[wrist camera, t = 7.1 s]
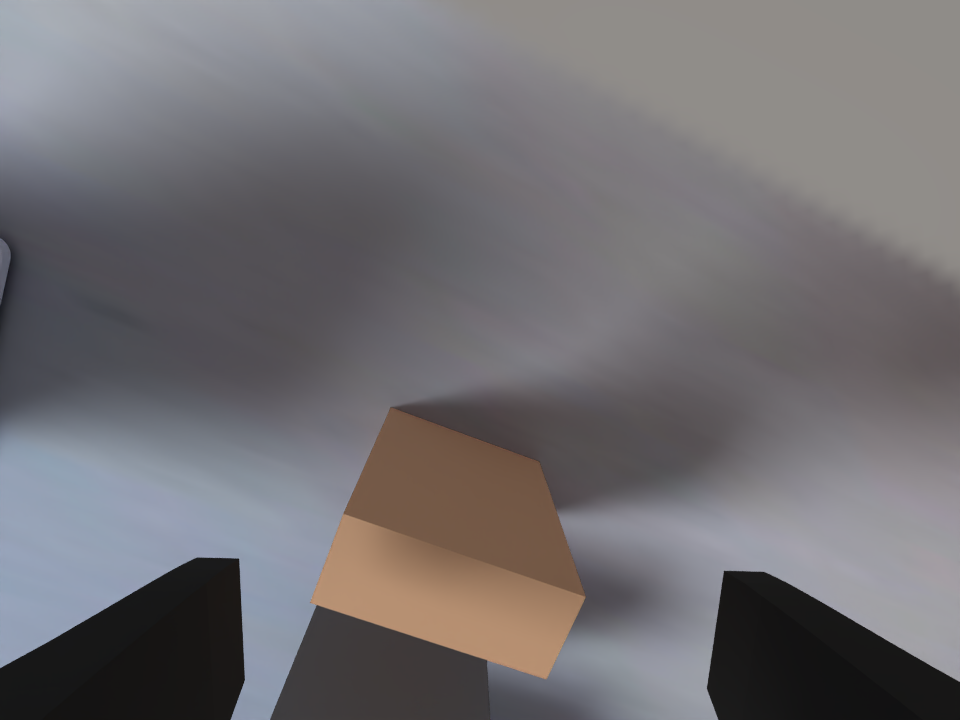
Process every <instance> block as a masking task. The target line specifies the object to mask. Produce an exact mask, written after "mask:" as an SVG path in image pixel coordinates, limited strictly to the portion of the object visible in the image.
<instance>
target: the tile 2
mask: <svg viewBox="0 0 960 720" xmlns="http://www.w3.org/2000/svg"><path fill="white" fill-rule="evenodd" d="M270 720H490V709H489V691H488V672H487V660H485V659H482V658H479V657H476V656H473V655H469V654H466V653H463V652H460V651H457V650H454V649H451V648H448V647H445V646H442V645H439V644H436V643H432V642H429V641H426V640H423V639H420V638H417V637H414V636H411V635H408V634H405V633H402V632H399V631H395V630H392V629H389V628H386V627H383V626H380V625H377V624H374V623H371V622H368V621H365V620H362V619H358V618H355V617H352V616H349V615H346V614H343V613H340V612H337V611H334V610H331V609H328V608H325V607H321V606H318V605H317V606H316V608H315V611H314V613H313V616H312V618H311V621H310V623H309V626H308V628H307V630H306V633H305V635H304V638H303V640H302V643H301V645H300V648H299V650H298V652H297V655H296V657H295V660H294V662H293V665H292V667H291V670H290V672H289V675H288V677H287V679H286V682H285V684H284V687H283V689H282V692H281V694H280V697H279V699H278V701H277V704H276V706H275V709H274V711H273V714H272V716H271V719H270Z"/></svg>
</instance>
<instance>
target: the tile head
mask: <svg viewBox="0 0 960 720" xmlns="http://www.w3.org/2000/svg"><path fill="white" fill-rule="evenodd" d="M585 598H586V596H585V593H584V590H583V587H582V584H581V581H580V578H579V575H578V573H577V570H576V567H575V564H574V561H573V558H572V555H571V552H570V549H569V546H568V544H567V541H566V538H565V535H564V532H563V529H562V526H561V523H560V520H559V517H558V515H557V512H556V509H555V506H554V503H553V500H552V497H551V494H550V491H549V488H548V485H547V483H546V480H545V477H544V474H543V471H542V468H541V465H540V462H539V461H536V460H533V459H531V458H528V457H525V456H522V455H520V454H517V453H514V452H511V451H509V450H506V449H503V448H501V447H498V446H495V445H492V444H490V443H487V442H484V441H481V440H479V439H476V438H473V437H470V436H468V435H465V434H462V433H460V432H457V431H454V430H451V429H449V428H446V427H443V426H440V425H438V424H435V423H432V422H430V421H427V420H424V419H421V418H419V417H416V416H413V415H410V414H408V413H405V412H402V411H399V410H397V409H394V408H390V410H389V413H388V415H387V417H386V419H385V422H384V424H383V426H382V428H381V431H380V433H379V435H378V437H377V440H376V442H375V444H374V446H373V449H372V451H371V453H370V455H369V458H368V460H367V462H366V464H365V467H364V469H363V471H362V473H361V476H360V478H359V480H358V482H357V484H356V487H355V489H354V491H353V493H352V496H351V498H350V500H349V502H348V505H347V507H346V509H345V511H344V514H343V516H342V519H341V522H340V524H339V527H338V530H337V532H336V535H335V538H334V540H333V543H332V546H331V548H330V551H329V554H328V556H327V559H326V562H325V564H324V567H323V570H322V572H321V575H320V578H319V580H318V583H317V586H316V588H315V591H314V594H313V596H312V599H311V602H310V603H312V604H315V605H318V606H321V607H325V608H328V609H331V610H334V611H337V612H340V613H343V614H346V615H349V616H352V617H355V618H358V619H362V620H365V621H368V622H371V623H374V624H377V625H380V626H383V627H386V628H389V629H392V630H395V631H399V632H402V633H405V634H408V635H411V636H414V637H417V638H420V639H423V640H426V641H429V642H432V643H436V644H439V645H442V646H445V647H448V648H451V649H454V650H457V651H460V652H463V653H466V654H469V655H473V656H476V657H479V658H482V659H485V660H488V661H491V662H494V663H497V664H500V665H503V666H506V667H509V668H513V669H516V670H519V671H522V672H525V673H528V674H531V675H534V676H537V677H540V678H543V679H547V677H548V675H549V673H550V671H551V669H552V667H553V665H554V663H555V661H556V658H557V656H558V654H559V652H560V650H561V648H562V646H563V644H564V642H565V640H566V638H567V635H568V633H569V631H570V629H571V627H572V625H573V623H574V621H575V619H576V617H577V615H578V613H579V610H580V608H581V606H582V604H583V602H584V600H585Z"/></svg>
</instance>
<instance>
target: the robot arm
mask: <svg viewBox="0 0 960 720" xmlns="http://www.w3.org/2000/svg"><path fill="white" fill-rule="evenodd" d="M10 260H11V252H10V249H9V247H8V245H7V244H6V243H5V242H4V240H3V239H1V238H0V305H1V300H2V296H3V291H4V287H5V282H6V278H7V273H8V269H9V264H10ZM244 681H245V675H244V653H243V632H242V611H241V589H240V568H239V559H234V558H195V559H193V560H191V561H189V562H187V563H185V564H183V565H181V566H179V567H177V568H175V569H173V570H172V571H170V572H168V573H166V574H164V575H163V576H161V577H159V578H157V579H156V580H154V581H152V582H150V583H149V584H147V585H145V586H144V587H142V588H140V589H138V590H137V591H135V592H133V593H132V594H130V595H128V596H126V597H125V598H123V599H121V600H120V601H118V602H116V603H115V604H113V605H111V606H109V607H108V608H106V609H104V610H103V611H101V612H99V613H97V614H96V615H94V616H92V617H91V618H89V619H87V620H85V621H84V622H82V623H80V624H79V625H77V626H75V627H73V628H72V629H70V630H68V631H67V632H65V633H63V634H61V635H60V636H58V637H56V638H54V639H53V640H51V641H49V642H47V643H46V644H44V645H42V646H40V647H38V648H37V649H35V650H33V651H31V652H29V653H27V654H26V655H24V656H22V657H20V658H18V659H16V660H15V661H13V662H11V663H9V664H7V665H5V666H3V667H2V668H0V720H231V717H232V714H233V711H234V709H235V706H236V703H237V700H238V698H239V695H240V692H241V689H242V686H243V684H244ZM707 690H708V693H709V695H710V698H711V701H712V704H713V706H714V709H715V712H716V714H717V717H718V720H960V682H959V681H957V680H955V679H953V678H952V677H950V676H948V675H946V674H944V673H943V672H941V671H939V670H937V669H936V668H934V667H932V666H930V665H929V664H927V663H925V662H923V661H922V660H920V659H918V658H916V657H915V656H913V655H911V654H909V653H908V652H906V651H904V650H902V649H901V648H899V647H897V646H896V645H894V644H892V643H890V642H889V641H887V640H885V639H884V638H882V637H880V636H878V635H877V634H875V633H873V632H872V631H870V630H868V629H866V628H865V627H863V626H861V625H860V624H858V623H856V622H854V621H853V620H851V619H849V618H848V617H846V616H844V615H843V614H841V613H839V612H837V611H836V610H834V609H832V608H831V607H829V606H827V605H825V604H824V603H822V602H820V601H818V600H817V599H815V598H813V597H811V596H810V595H808V594H806V593H804V592H803V591H801V590H799V589H797V588H795V587H793V586H792V585H790V584H788V583H786V582H784V581H782V580H780V579H778V578H776V577H774V576H772V575H770V574H767V573H765V572H746V571H724V575H723V582H722V589H721V596H720V603H719V609H718V616H717V623H716V630H715V637H714V644H713V651H712V658H711V665H710V671H709V678H708V685H707Z"/></svg>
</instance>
